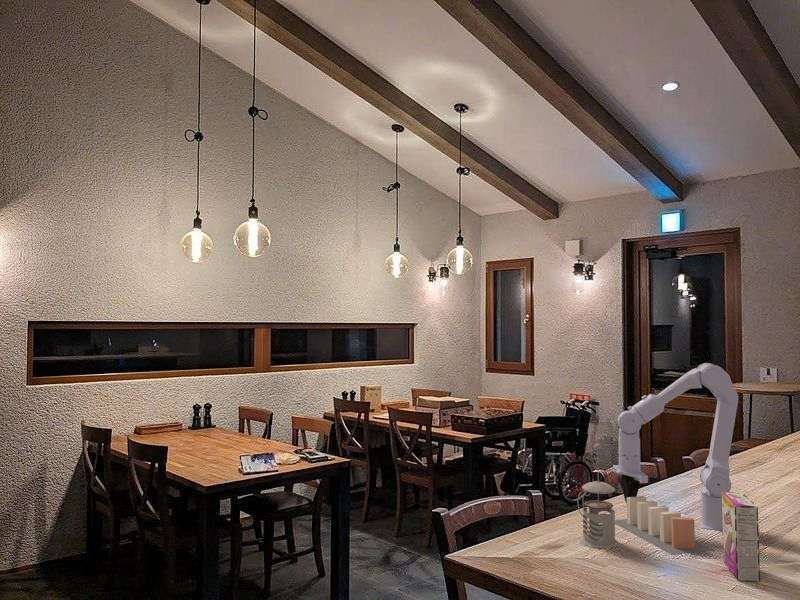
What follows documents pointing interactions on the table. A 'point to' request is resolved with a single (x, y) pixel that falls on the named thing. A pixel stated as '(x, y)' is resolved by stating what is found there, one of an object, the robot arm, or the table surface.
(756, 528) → the candy bar box
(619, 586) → the table surface
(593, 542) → the french press
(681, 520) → the domino
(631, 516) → the domino
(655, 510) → the domino
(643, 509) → the domino
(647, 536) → the slate mat
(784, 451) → the table surface
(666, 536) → the domino
